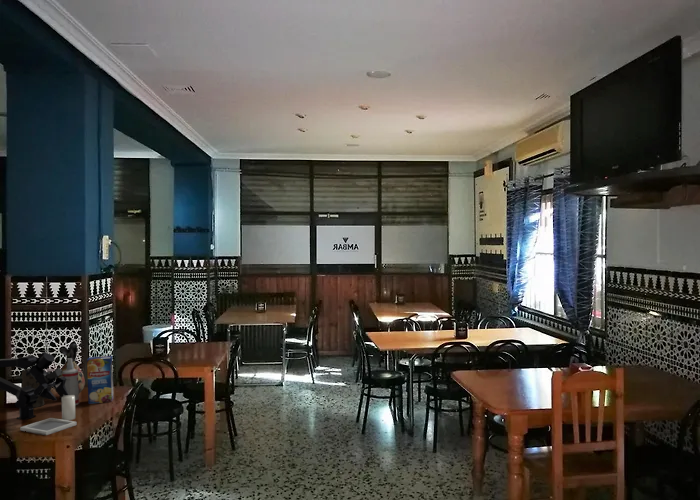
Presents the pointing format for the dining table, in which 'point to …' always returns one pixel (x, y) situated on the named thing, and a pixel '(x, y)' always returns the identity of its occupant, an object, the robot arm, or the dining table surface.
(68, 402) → the grey rounded cylinder
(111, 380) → the juice carton
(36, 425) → the tray
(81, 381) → the ceramic jug
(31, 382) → the beer stein
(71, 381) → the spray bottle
